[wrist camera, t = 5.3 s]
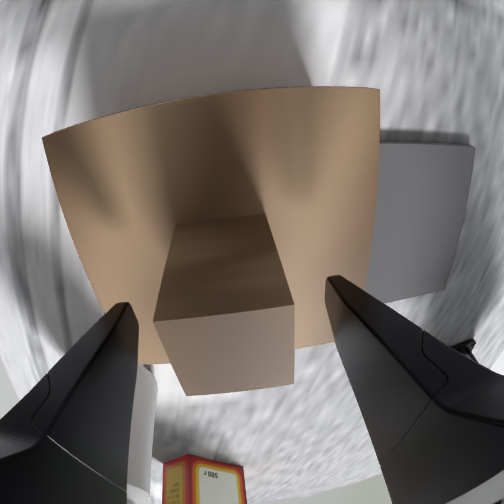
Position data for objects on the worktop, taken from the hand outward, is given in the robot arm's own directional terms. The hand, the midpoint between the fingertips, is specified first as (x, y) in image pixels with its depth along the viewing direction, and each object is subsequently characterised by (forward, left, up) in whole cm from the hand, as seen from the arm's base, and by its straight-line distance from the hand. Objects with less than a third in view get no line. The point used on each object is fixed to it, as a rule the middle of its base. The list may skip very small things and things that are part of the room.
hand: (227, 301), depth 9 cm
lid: (0, 0, -3) cm, 3 cm away
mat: (-11, +3, -8) cm, 14 cm away
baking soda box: (+9, +38, -8) cm, 40 cm away
